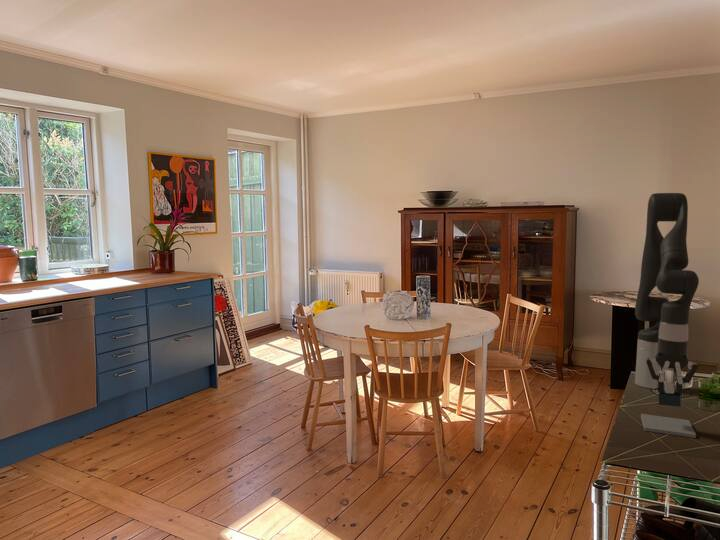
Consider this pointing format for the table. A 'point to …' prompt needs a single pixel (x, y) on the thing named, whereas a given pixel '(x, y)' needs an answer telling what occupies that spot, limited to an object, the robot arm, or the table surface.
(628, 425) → the table surface
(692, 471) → the table surface
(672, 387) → the watch
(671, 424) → the mat
